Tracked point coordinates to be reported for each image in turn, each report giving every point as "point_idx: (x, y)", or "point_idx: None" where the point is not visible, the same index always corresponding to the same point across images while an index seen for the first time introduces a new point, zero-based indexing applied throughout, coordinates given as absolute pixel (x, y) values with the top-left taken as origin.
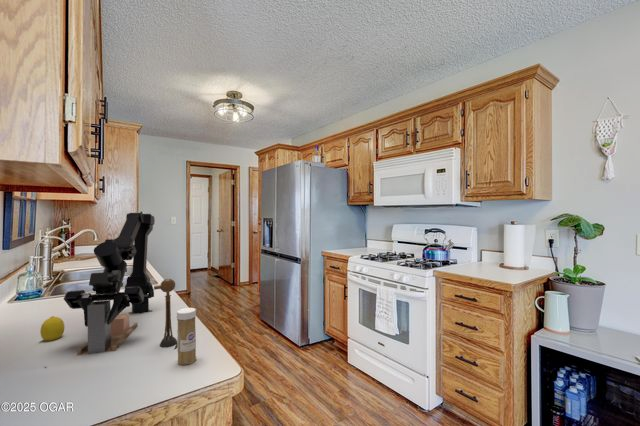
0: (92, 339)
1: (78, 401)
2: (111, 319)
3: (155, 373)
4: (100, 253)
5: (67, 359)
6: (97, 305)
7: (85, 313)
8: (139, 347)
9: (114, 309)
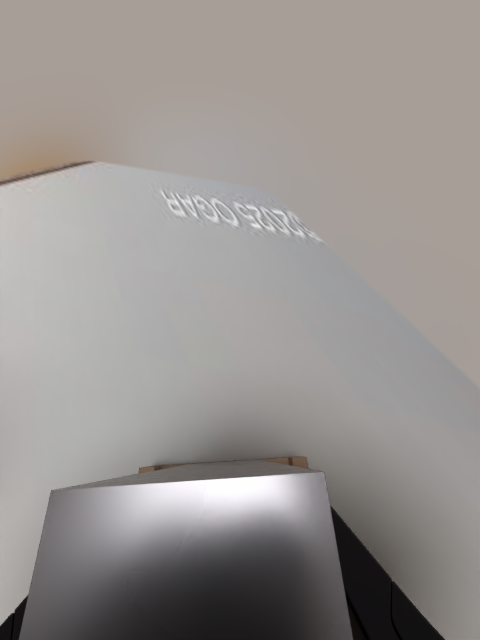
0: (241, 462)
1: (163, 213)
2: None
3: (4, 285)
4: None
5: (342, 472)
6: (169, 484)
7: (371, 575)
8: None
9: (4, 631)
